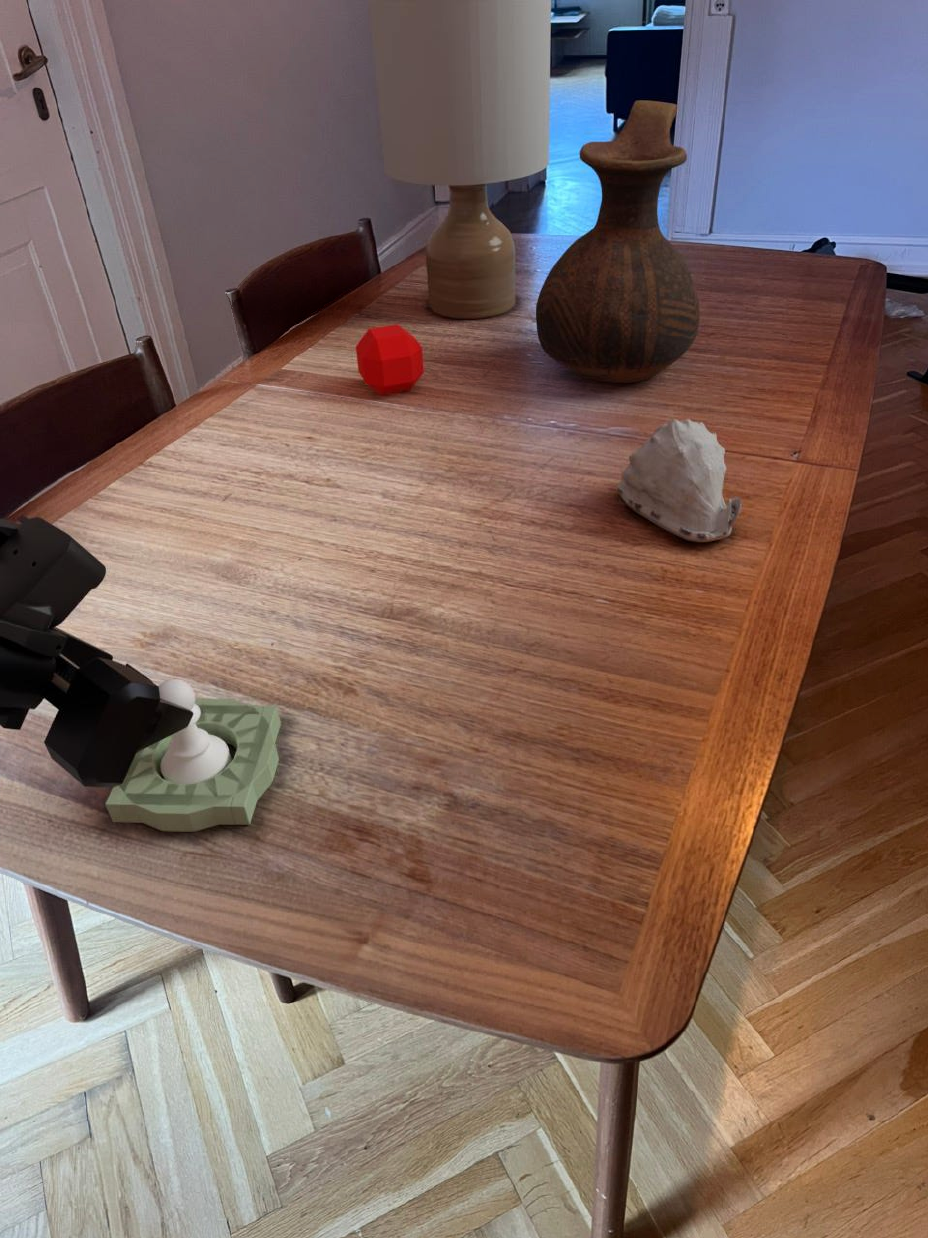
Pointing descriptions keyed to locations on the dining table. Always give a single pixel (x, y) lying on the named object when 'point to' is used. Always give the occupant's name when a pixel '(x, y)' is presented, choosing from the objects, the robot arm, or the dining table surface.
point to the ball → (389, 359)
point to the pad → (210, 799)
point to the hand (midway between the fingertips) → (148, 689)
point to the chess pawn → (191, 742)
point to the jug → (623, 265)
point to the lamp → (464, 128)
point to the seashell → (681, 482)
